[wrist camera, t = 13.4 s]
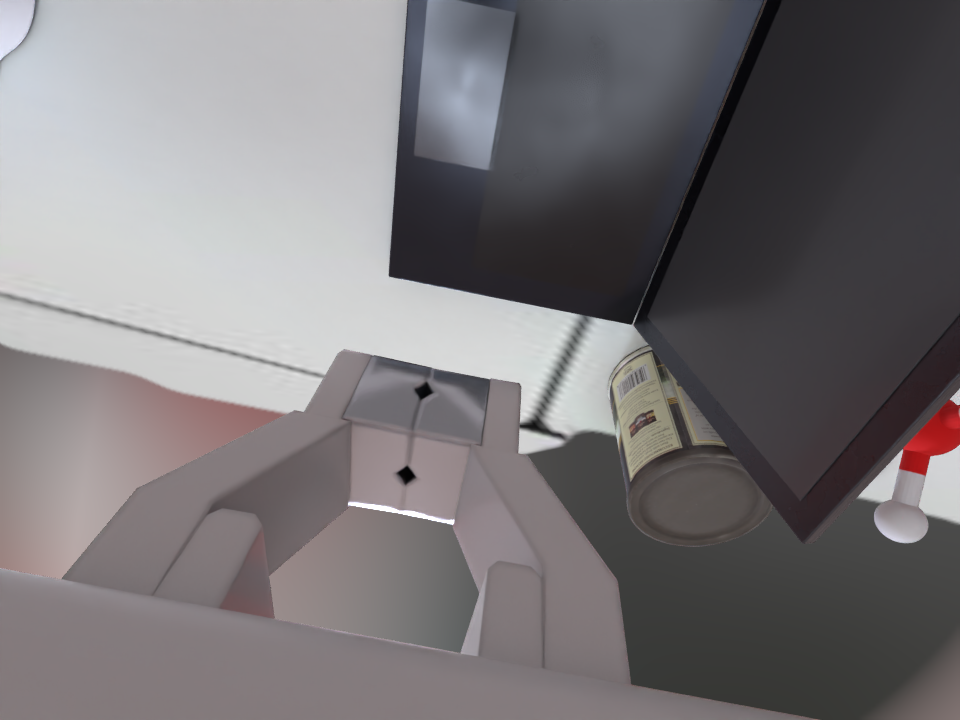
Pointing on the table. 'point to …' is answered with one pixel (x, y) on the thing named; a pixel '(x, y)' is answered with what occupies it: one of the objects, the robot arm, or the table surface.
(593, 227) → the laptop
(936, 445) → the molecular model
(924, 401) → the laptop screen
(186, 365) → the table surface
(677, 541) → the coffee can
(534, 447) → the table surface
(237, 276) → the table surface
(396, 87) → the table surface
